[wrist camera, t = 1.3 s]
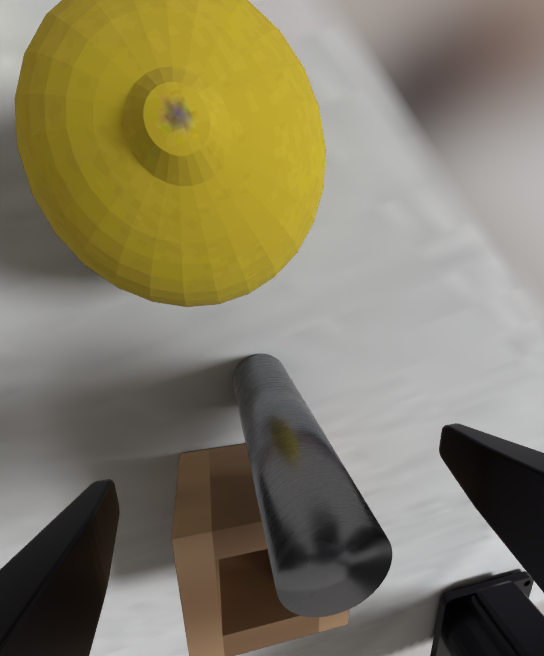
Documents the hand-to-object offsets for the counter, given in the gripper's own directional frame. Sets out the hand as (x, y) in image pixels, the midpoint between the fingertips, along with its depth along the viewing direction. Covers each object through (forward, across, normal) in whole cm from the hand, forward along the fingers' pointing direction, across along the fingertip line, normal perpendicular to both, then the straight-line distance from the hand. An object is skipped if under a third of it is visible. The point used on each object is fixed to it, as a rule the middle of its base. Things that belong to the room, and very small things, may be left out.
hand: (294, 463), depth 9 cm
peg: (+5, 0, 0) cm, 5 cm away
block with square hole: (+5, +1, +6) cm, 8 cm away
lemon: (+5, +2, -7) cm, 9 cm away
